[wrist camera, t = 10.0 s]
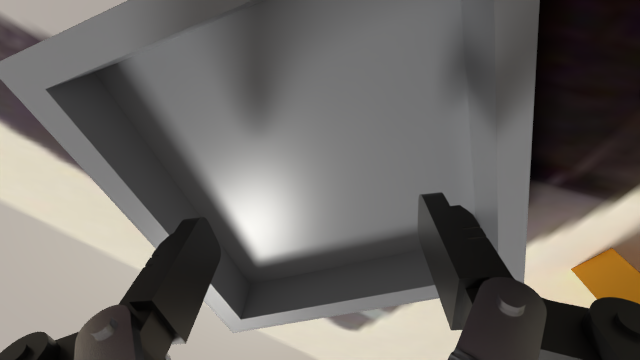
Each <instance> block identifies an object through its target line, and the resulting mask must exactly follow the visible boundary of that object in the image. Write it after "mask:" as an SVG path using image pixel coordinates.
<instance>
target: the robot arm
mask: <svg viewBox="0 0 640 360" xmlns="http://www.w3.org/2000/svg"><path fill="white" fill-rule="evenodd" d="M418 236H419V241H420V244H421V247H422V250H423V253H424V256H425V258H426V261H427V264H428V267H429V270H430V272H431V275H432V278H433V281H434V284H435V287H436V289H437V292H438V295H439V298H440V301H441V303H442V306H443V309H444V312H445V315H446V317H447V320H448V323H449V326H450V329H451V330H463V331H462V333H461V336H460V338H459V341H458V343H457V346H456V348H455V350H454V352H452V353H451V354H450V356H449V358H448V360H640V304H638V303H636V302H633V301H630V300H626V299H623V298H617V297H603V298H600V299H597V300H595V301H594V302H593V303H592V305H591V306H590V308H584V307H579V306H574V305H569V304H564V303H559V302H554V301H550V300H547V299H544V298H541V297H540V296H539V295H538V294H537V293H536V292H535V291H534V290H533V289H532V288H530V287H529V286H527V285H526V284H524V283H522V282H520V281H517V280H515V279H514V278H513V276H512V275H511V273H510V272H509V270H508V268H507V267H506V265H505V264H504V262H503V261H502V259H501V258H500V256H499V254H498V253H497V251H496V250H495V248H494V247H493V245H492V243H491V242H490V240H489V239H488V238H487V237H486V234H485V233H484V231H483V229H482V228H480V225H479V223H478V222H477V220H476V218H475V217H474V215H473V214H472V213H470V212H469V211H468V210H466V209H465V208H464V207H462V206H461V205H455V206H450V205H449V203H448V201H447V199H446V197H445V196H444V194H443V193H442V192H438V193H429V194H420V195H419V199H418ZM220 258H221V248H220V245H219V243H218V240H217V238H216V236H215V234H214V232H213V230H212V228H211V226H210V224H209V222H208V220H207V219H206V218H205V217H199V218H190V219H184V220H182V221H181V223H180V224H179V226H178V227H177V229H176V230H175V232H174V233H173V234H170V235H169V236H168V237H167V238H166V239H165V240H164V241H162V242H161V243H160V244H159V246H158V247H157V249H156V250H155V251H154V253H153V254H152V258H150V259H149V260H148V262H147V263H146V265H145V267H144V268H143V269H142V271H141V272H140V274H139V275H138V276H137V278H136V279H135V281H134V282H133V284H132V285H131V287H130V288H129V290H128V291H127V293H126V294H125V296H124V297H123V299H122V300H121V301H120V303H119V304H118V305H114V306H111V307H108V308H106V309H104V310H102V311H100V312H99V313H98V314H96V315H95V316H93V317H92V318H91V319H90V320H89V321H88V322H87V323H86V324H85V325H84V326H83V327H82V329H81V330H80V331H79V332H77V333H74V334H72V335H69V336H66V337H63V338H60V339H58V340H53V339H52V338H51V337H50V336H48V335H47V334H46V333H44V332H35V333H31V334H29V335H26V336H24V337H22V338H20V339H18V340H17V341H15V342H14V343H12V344H11V345H10V346H8V347H7V348H6V349H5V350H3V351H2V352H1V353H0V360H171V358H170V356H169V354H168V350H169V348H170V346H171V344H185V343H186V341H187V339H188V336H189V334H190V332H191V329H192V327H193V325H194V322H195V320H196V317H197V315H198V312H199V310H200V308H201V305H202V303H203V300H204V298H205V295H206V293H207V291H208V288H209V286H210V283H211V281H212V279H213V276H214V274H215V271H216V269H217V266H218V264H219V262H220Z"/></svg>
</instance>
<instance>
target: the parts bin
mask: <svg viewBox="0 0 640 360" xmlns="http://www.w3.org/2000/svg"><path fill="white" fill-rule="evenodd" d="M539 3H540V0H128V1H126V2H124V3H122V4H120V5H117V6H115V7H113V8H111V9H109V10H107V11H105V12H103V13H101V14H99V15H97V16H95V17H92V18H90V19H88V20H86V21H84V22H82V23H80V24H78V25H76V26H73V27H71V28H69V29H67V30H65V31H63V32H61V33H59V34H57V35H55V36H52V37H50V38H48V39H46V40H44V41H42V42H40V43H38V44H36V45H34V46H31V47H29V48H27V49H25V50H23V51H21V52H19V53H17V54H15V55H13V56H10V57H8V58H6V59H4V60H2V61H0V79H1V80H2V81H3V82H4V83H5V84H6V85H7V87H8V88H9V89H10V90H11V91H12V92H13V93H14V94H15V95H16V96H17V97H18V99H19V100H20V101H21V102H22V103H23V104H24V105H25V106H26V107H27V108H28V109H29V111H30V112H31V113H32V114H33V115H34V116H35V117H36V118H37V119H38V120H39V121H40V123H41V124H42V125H43V126H44V127H45V128H46V129H47V130H48V131H49V132H50V134H51V135H52V136H53V137H54V138H55V139H56V140H57V141H58V142H59V143H60V144H61V146H62V147H63V148H64V149H65V150H66V151H67V152H68V153H69V154H70V155H71V156H72V158H73V159H74V160H75V161H76V162H77V163H78V164H79V165H80V166H81V167H82V168H83V170H84V171H85V172H86V173H87V174H88V175H89V176H90V177H91V178H92V179H93V181H94V182H95V183H96V184H97V185H98V186H99V187H100V188H101V189H102V190H103V191H104V193H105V194H106V195H107V196H108V197H109V198H110V199H111V200H112V201H113V202H114V203H115V205H116V206H117V207H118V208H119V209H120V210H121V211H122V212H123V213H124V214H125V215H126V217H127V218H128V219H129V220H130V221H131V222H132V223H133V224H134V225H135V226H136V228H137V229H138V230H139V231H140V232H141V233H142V234H143V235H144V236H145V237H146V238H147V240H148V241H149V242H150V243H151V244H152V245H153V246H154V247H155V248H156V249H157V247H158V246H159V244H160V243H161V242H162V241H164V240H165V239H166V238H167V237H168V236H169V235H170V234H173V233H174V232H175V230H176V229H177V227H178V226H179V224H180V223H181V221H182V220H184V219H190V218H199V217H205V218H206V219H207V220H208V222H209V224H210V226H211V228H212V230H213V232H214V234H215V236H216V238H217V240H218V243H219V245H220V248H221V258H220V262H219V264H218V266H217V269H216V271H215V274H214V276H213V279H212V281H211V283H210V286H209V288H208V291H207V293H206V295H205V298H204V300H203V301H204V302H205V303H206V304H207V305H208V306H209V307H210V308H211V309H212V310H213V312H214V313H215V314H216V315H217V316H218V317H219V318H220V319H221V320H222V322H223V323H224V324H225V325H226V326H227V327H228V328H229V329H230V330H231V331H232V332H233V333H236V332H242V331H248V330H254V329H260V328H265V327H271V326H277V325H283V324H289V323H295V322H301V321H307V320H313V319H319V318H325V317H331V316H337V315H342V314H348V313H354V312H360V311H366V310H372V309H378V308H384V307H390V306H396V305H402V304H408V303H414V302H419V301H425V300H431V299H437V298H439V295H438V292H437V289H436V287H435V284H434V281H433V278H432V275H431V272H430V270H429V267H428V264H427V261H426V258H425V256H424V253H423V250H422V247H421V244H420V241H419V236H418V199H419V195H420V194H429V193H438V192H442V193H443V194H444V196H445V197H446V199H447V201H448V203H449V205H450V206H455V205H461V206H462V207H464V208H465V209H466V210H468V211H469V212H470V213H472V214H473V215H474V217H475V218H476V220H477V222H478V223H479V225H480V228H482V229H483V231H484V233H485V234H486V237H487V238H488V239H489V240H490V242H491V243H492V245H493V247H494V248H495V250H496V251H497V253H498V254H499V256H500V258H501V259H502V261H503V262H504V264H505V265H506V267H507V268H508V270H509V272H510V273H511V275H512V276H513V278H514V279H515V280H517V281H520V282H522V283H524V273H525V255H526V237H527V219H528V201H529V183H530V165H531V147H532V129H533V111H534V93H535V75H536V57H537V39H538V21H539Z"/></svg>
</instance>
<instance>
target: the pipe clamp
mask: <svg viewBox="0 0 640 360" xmlns="http://www.w3.org/2000/svg"><path fill="white" fill-rule="evenodd" d="M571 270H572V271H573V272H574V273H575V274H576V275H577V277H578V278H579V279H580V280H581V281H582V282H583V284H584V285H585V286H586V287H587V288H588V289H589V290H590V292H591V293H592V294H593V295H594V296H595V297H596V298H597V299H600V298H603V297H617V298H623V299H626V300H630V301H633V302H636V303H638V304H640V273H639V272H638V271H637V270H636V269H635V268H634V267H633V266H631V265H630V264H629V263H628V262H627V261H626V260H625V259H624V258H623V257H622V256H620V255H619V254H618V253H617V252H616V251H615V250H614V249H613V248H611V249H609V250H607V251H605V252H603V253H601V254H599V255H597V256H595V257H594V258H592V259H590V260H588V261H586V262H584V263H582V264H580V265H578V266H576V267H574V268H572V269H571Z"/></svg>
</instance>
